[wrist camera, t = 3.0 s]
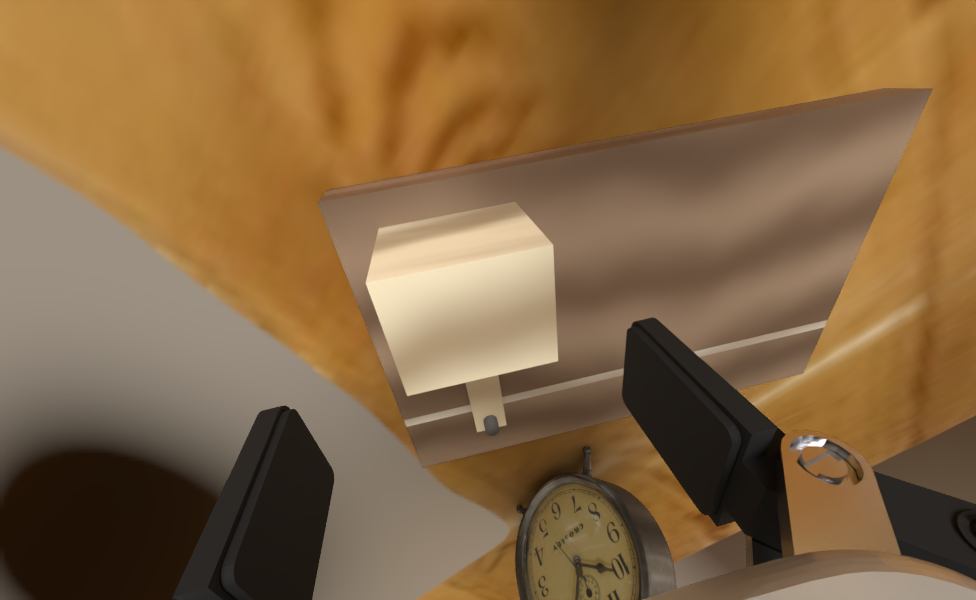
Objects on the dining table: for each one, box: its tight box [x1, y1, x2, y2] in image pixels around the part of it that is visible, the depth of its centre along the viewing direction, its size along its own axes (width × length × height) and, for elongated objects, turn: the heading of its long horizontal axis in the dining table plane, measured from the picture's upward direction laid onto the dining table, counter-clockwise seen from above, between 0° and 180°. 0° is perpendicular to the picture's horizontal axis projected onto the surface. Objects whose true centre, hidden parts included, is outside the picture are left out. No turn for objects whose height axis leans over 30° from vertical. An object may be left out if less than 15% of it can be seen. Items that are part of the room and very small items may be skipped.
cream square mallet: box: [366, 202, 558, 436], centre depth 17 cm, size 13×6×5 cm, turn 8°
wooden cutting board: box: [317, 88, 932, 468], centre depth 21 cm, size 18×28×2 cm, turn 98°
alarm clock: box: [515, 447, 676, 600], centre depth 24 cm, size 11×5×16 cm, turn 141°
